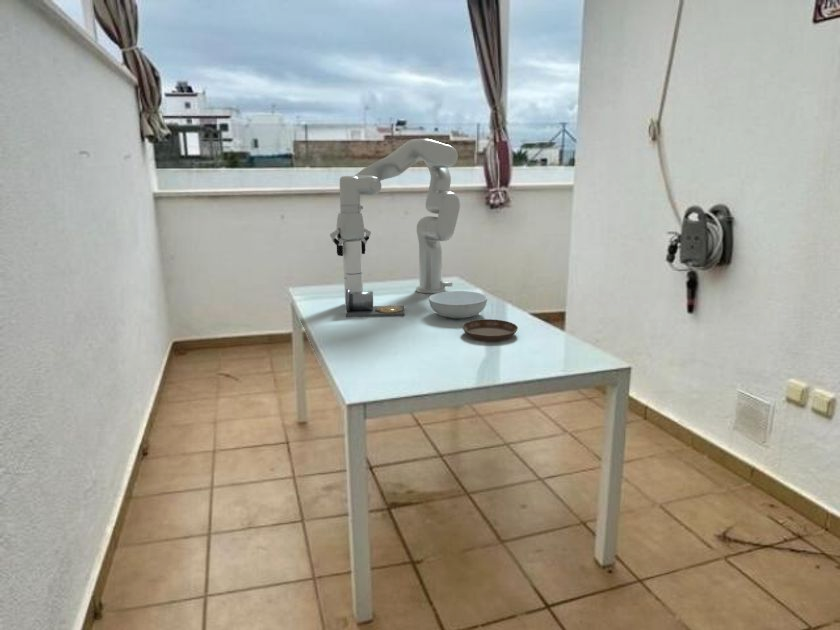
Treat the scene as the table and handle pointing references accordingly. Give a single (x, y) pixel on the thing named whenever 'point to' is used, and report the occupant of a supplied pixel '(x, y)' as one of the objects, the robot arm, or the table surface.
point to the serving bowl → (458, 303)
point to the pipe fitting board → (373, 313)
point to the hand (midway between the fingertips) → (351, 254)
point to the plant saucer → (489, 330)
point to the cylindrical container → (352, 266)
